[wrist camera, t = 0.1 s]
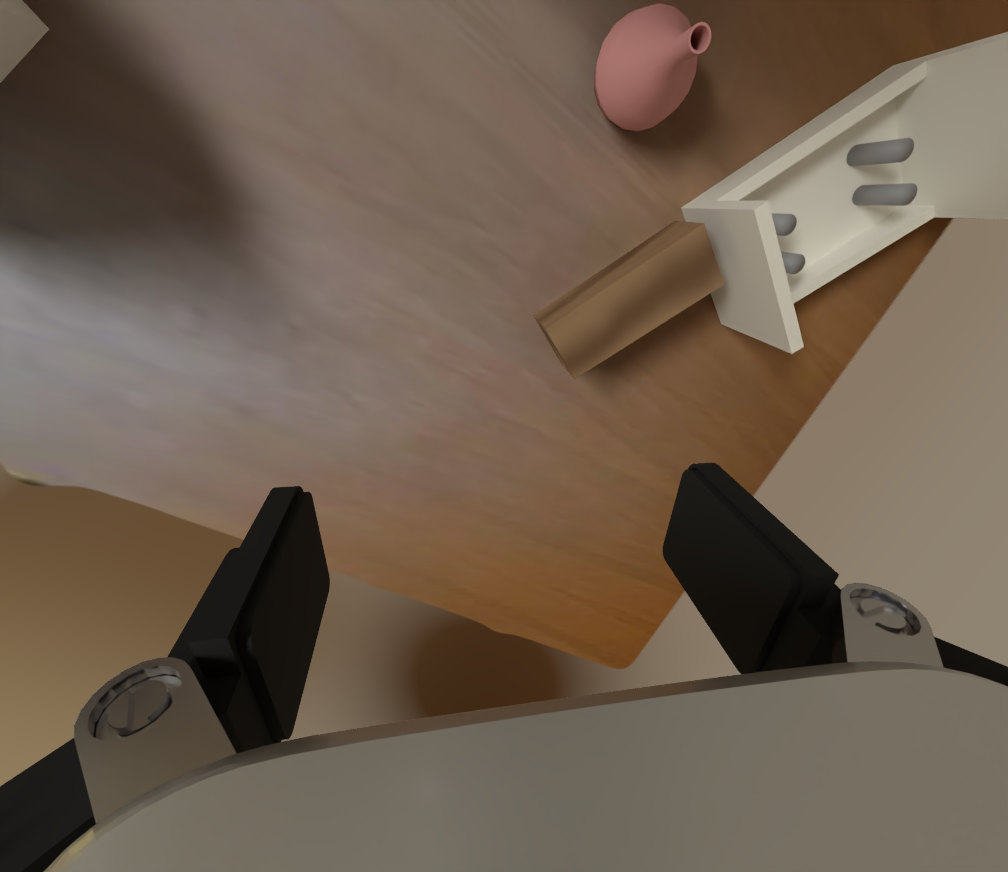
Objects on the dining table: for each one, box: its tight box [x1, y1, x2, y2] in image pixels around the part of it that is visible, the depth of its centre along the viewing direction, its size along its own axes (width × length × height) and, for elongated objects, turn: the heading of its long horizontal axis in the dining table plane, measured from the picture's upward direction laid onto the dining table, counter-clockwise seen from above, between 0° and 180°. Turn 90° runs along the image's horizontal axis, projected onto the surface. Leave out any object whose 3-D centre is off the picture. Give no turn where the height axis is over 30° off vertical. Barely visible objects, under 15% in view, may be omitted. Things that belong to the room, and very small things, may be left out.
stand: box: [681, 32, 1008, 354], centre depth 40 cm, size 14×22×11 cm, turn 122°
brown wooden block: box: [534, 221, 724, 379], centre depth 42 cm, size 6×16×5 cm, turn 122°
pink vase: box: [594, 3, 711, 131], centre depth 33 cm, size 8×8×12 cm
